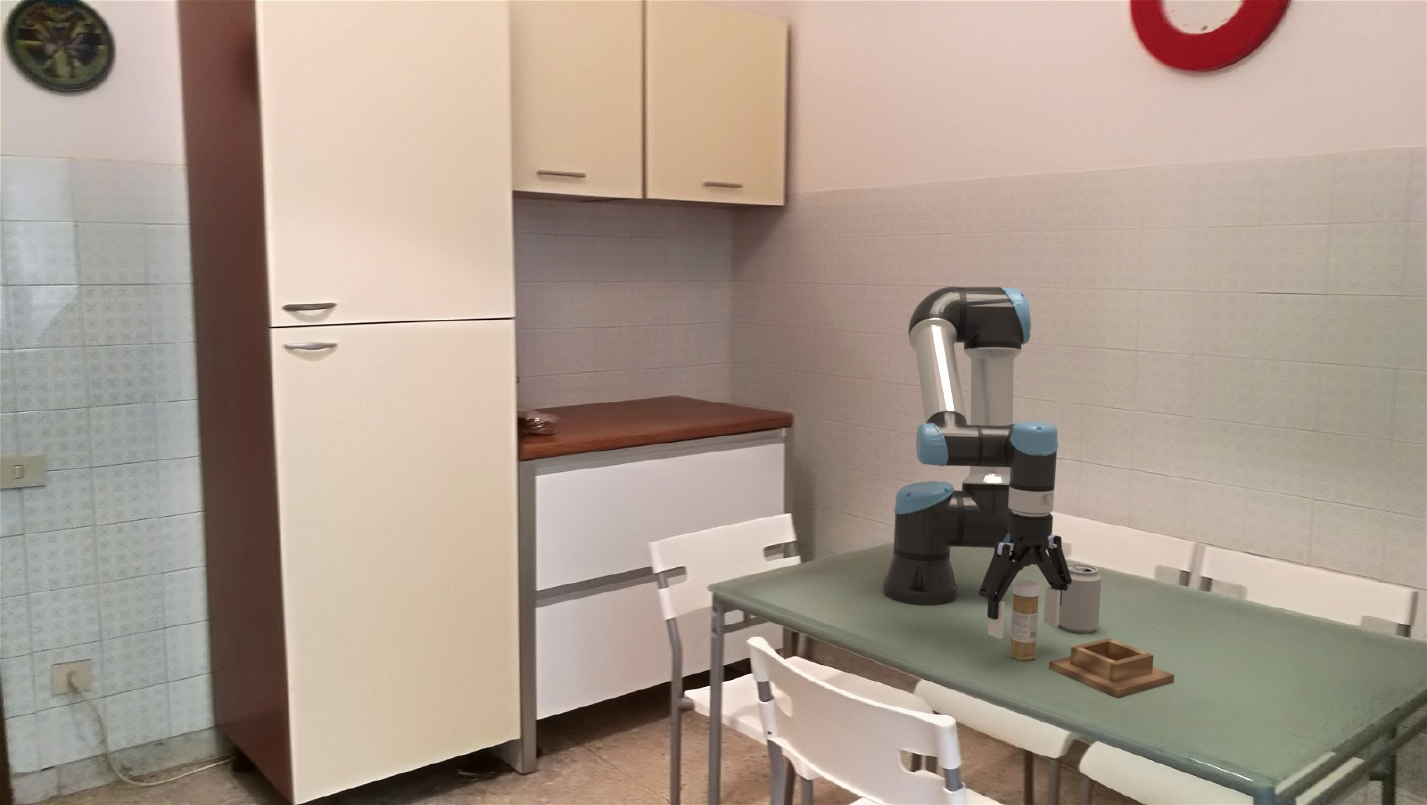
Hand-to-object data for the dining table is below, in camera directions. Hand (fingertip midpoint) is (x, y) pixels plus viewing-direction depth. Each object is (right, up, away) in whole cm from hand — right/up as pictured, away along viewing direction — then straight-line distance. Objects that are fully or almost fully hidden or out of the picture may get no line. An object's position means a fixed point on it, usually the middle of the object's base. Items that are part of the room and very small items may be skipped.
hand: (1023, 630), depth 181 cm
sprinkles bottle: (0, -5, +1) cm, 5 cm away
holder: (+12, -6, -7) cm, 16 cm away
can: (+15, -3, +16) cm, 22 cm away
